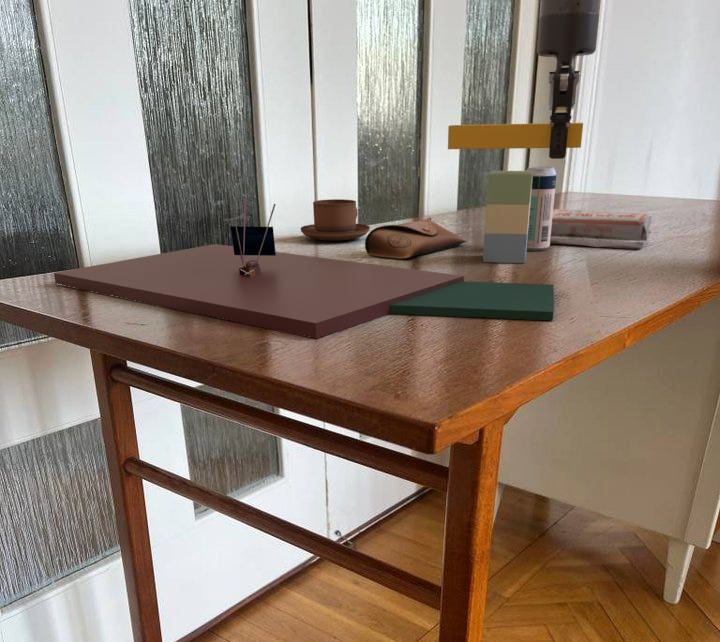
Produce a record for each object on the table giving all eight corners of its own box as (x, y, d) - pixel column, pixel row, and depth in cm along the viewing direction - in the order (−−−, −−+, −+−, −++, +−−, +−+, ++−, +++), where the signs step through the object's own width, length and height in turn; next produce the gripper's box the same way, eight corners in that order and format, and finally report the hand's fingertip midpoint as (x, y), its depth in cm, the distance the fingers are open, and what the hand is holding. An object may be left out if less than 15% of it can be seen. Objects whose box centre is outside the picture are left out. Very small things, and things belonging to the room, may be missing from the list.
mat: (552, 292, 91) (553, 284, 91) (552, 321, 79) (553, 311, 79) (375, 286, 96) (375, 278, 95) (349, 312, 84) (349, 303, 83)
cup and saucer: (315, 233, 138) (314, 197, 135) (378, 235, 135) (378, 198, 132) (290, 243, 128) (288, 204, 125) (357, 245, 125) (356, 206, 122)
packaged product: (655, 210, 123) (648, 218, 115) (651, 241, 125) (643, 250, 117) (546, 206, 130) (531, 212, 122) (543, 235, 133) (529, 243, 125)
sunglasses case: (410, 257, 111) (391, 214, 110) (377, 277, 116) (358, 237, 115) (469, 241, 124) (453, 203, 123) (437, 260, 129) (421, 223, 128)
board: (55, 284, 99) (40, 202, 94) (215, 254, 119) (209, 185, 114) (316, 338, 74) (312, 230, 69) (463, 288, 94) (467, 201, 89)
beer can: (550, 246, 121) (557, 166, 116) (548, 251, 117) (556, 168, 112) (519, 246, 123) (526, 166, 117) (517, 250, 118) (523, 168, 113)
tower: (526, 256, 114) (533, 170, 109) (524, 263, 109) (532, 174, 103) (486, 255, 115) (491, 170, 110) (482, 262, 110) (488, 173, 105)
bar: (580, 146, 105) (582, 122, 104) (580, 147, 102) (583, 123, 100) (451, 148, 109) (451, 125, 108) (447, 149, 105) (448, 125, 104)
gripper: (602, 5, 90) (586, 160, 98) (597, 17, 103) (583, 154, 110) (538, 8, 92) (527, 161, 99) (540, 20, 104) (530, 155, 112)
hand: (557, 156), depth 105 cm, fingers closed on bar, 4 cm apart
